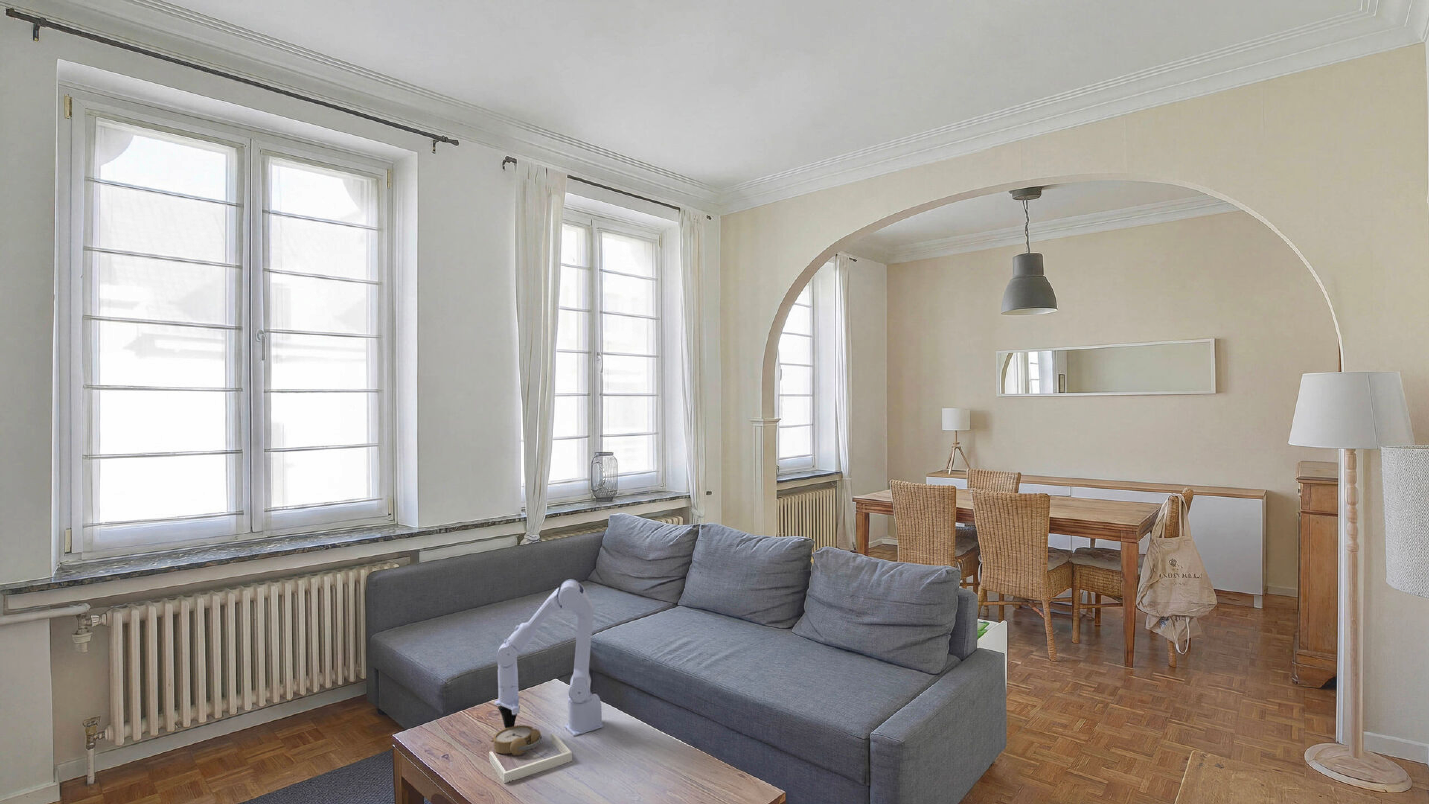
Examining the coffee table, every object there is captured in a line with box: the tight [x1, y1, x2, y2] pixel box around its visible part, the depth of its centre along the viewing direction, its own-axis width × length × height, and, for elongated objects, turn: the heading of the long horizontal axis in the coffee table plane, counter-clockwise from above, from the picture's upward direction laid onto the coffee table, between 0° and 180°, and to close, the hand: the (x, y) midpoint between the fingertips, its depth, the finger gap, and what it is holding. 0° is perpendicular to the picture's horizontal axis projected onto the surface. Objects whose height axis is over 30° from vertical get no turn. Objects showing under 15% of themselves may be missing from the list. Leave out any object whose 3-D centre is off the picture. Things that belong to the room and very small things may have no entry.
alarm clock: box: [490, 724, 543, 757], centre depth 199 cm, size 11×5×15 cm
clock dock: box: [488, 732, 573, 784], centre depth 191 cm, size 19×14×2 cm
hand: (509, 729), depth 207 cm, fingers closed
